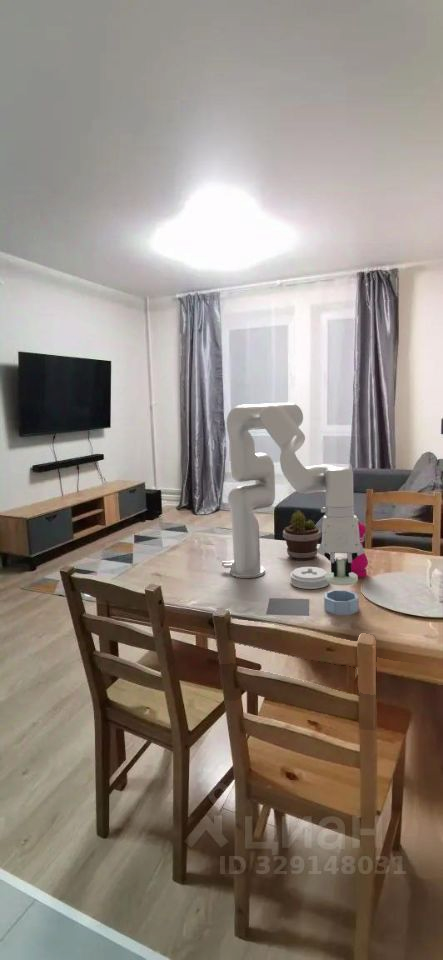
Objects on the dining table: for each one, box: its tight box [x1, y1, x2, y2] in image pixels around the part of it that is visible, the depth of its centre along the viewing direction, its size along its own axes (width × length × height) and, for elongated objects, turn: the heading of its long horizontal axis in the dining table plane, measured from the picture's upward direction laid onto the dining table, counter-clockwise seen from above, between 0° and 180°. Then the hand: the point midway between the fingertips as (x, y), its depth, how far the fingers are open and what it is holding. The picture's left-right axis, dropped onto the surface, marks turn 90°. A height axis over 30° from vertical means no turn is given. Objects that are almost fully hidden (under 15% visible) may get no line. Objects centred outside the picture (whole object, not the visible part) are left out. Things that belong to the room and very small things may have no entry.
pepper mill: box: [351, 517, 369, 578], centre depth 166 cm, size 7×7×20 cm
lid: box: [289, 566, 330, 590], centre depth 160 cm, size 13×13×5 cm
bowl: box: [323, 589, 360, 616], centre depth 139 cm, size 9×9×4 cm
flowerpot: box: [282, 509, 322, 561], centre depth 189 cm, size 14×15×20 cm
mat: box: [265, 597, 310, 617], centre depth 142 cm, size 12×12×1 cm
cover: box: [325, 557, 359, 586], centre depth 138 cm, size 9×9×6 cm
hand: (341, 574), depth 138 cm, fingers closed on cover, 2 cm apart
